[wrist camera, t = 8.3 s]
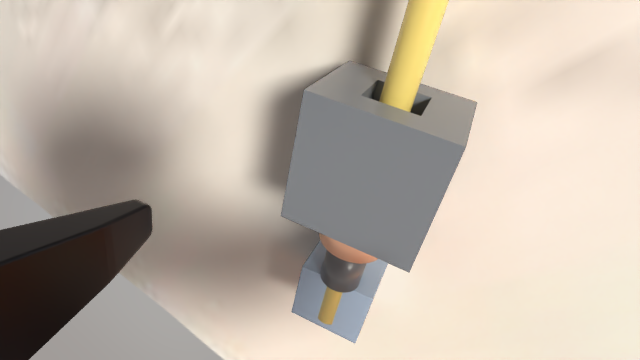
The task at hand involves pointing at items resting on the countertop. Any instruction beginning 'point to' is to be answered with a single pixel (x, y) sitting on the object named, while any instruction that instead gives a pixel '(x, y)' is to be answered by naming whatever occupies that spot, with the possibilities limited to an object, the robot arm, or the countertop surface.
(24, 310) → the robot arm
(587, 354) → the countertop surface
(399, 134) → the sleeve
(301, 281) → the cord rig
